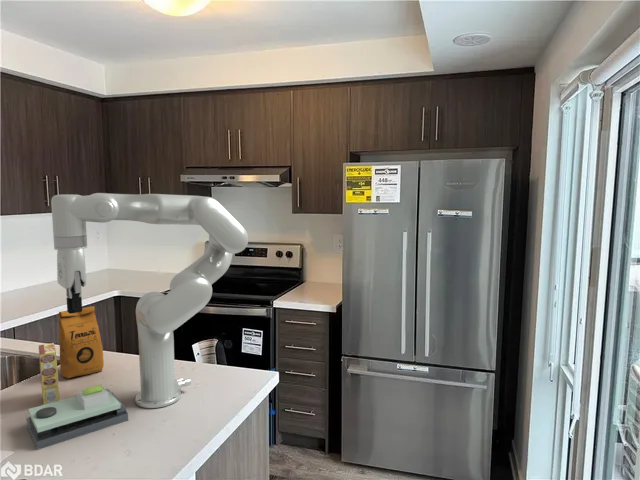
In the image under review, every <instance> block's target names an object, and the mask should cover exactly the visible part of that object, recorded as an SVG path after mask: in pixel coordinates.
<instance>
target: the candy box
mask: <svg viewBox="0 0 640 480" xmlns="http://www.w3.org/2000/svg"><path fill="white" fill-rule="evenodd" d="M38 360H39V372H40V382H41V383H40V384H41V393H42V403H43V405H46V404H49V403H53V402H57V401H61V399H60V389H59V388H60V387H59V386H60V385H59V375H58V374H59V373H58V372H59V371H58V360H57V353H56V347H55V344H54V342H53V343H46V344H41V345H38Z"/></svg>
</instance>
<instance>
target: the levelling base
mask: <svg viewBox="0 0 640 480" xmlns="http://www.w3.org/2000/svg"><path fill="white" fill-rule="evenodd" d="M110 392H111V391H110ZM111 393H112V394H113V395H114V396H115V397H116V398H117V400H118V401H119V402H120V403H121V404H122V406H121V408H120V409H116V410H113V411H109V412H106V413H103V414H99V415H96V416H93V417H89V418H86V419H82V420H79V421H76V422H72V423H69V424H66V425H62V426H59V427H55V428H52V429H49V430H45V431H42V432H39V433H38V432H37V430H36V428H35V426H34V424H33V422H32V420H31V418H30V416H28V417H27V418H25V422H26V423H25V424H26V427H27V430H28V433H29V434H30V435H29V436H30V437H31V439H32V441H33V443H34V446H35V448H36V450H41V449H44V448H47V447H49V446H52V445H56V444H59V443H62V442H65V441H68V440H71V439H72V440H73V439H75V438H78V437H80V436H84V435H88V434H90V433H94V432H96V431H99V430H102V429H105V428H109V427H111V426H114V425H117V424H122V423H125V422H127V421H129V413H128V411H127V410H128V409H127V407H126V406H125V405H124V403H123V402H122V401H121V400H120V399H119V398H118V397H117V396H116V395H115V394H114V392H111Z"/></svg>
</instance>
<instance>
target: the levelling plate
mask: <svg viewBox="0 0 640 480" xmlns="http://www.w3.org/2000/svg"><path fill="white" fill-rule="evenodd" d="M76 392H77V393H76V394H77V395H76V396H71V397H69V398H65V399H60V401H57V402H53V403H49V404H46V405H44V404H43V405H38V406H35V407H31V408H28V409H27V414H28V415H29V416H28V417H30V418H31V420H32V422H33V424H34V426H35V428H36V430H37V432H38V433H39V432H42V431H45V430H49V429H52V428H55V427H59V426H62V425H66V424H69V423H72V422H76V421H79V420H82V419H86V418H89V417H93V416H96V415H99V414H103V413H106V412H109V411H113V410H116V409H120V408H121V406H122V404H123V403H122V404H121V403H120V402H119V401H118V400H117V398H118V397H117V396H116V395H115V394H114V393H113V392H112V393H113V394H114V395H115V396H116V397H117V398H116V397H115V396H114V395H113V394H112V393H111V390H109V388H104V387H103V385H102V384H99V385H94V386H90V387H86V388H83V389H81V390H78V391H76Z"/></svg>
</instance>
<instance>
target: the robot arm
mask: <svg viewBox="0 0 640 480" xmlns="http://www.w3.org/2000/svg"><path fill="white" fill-rule="evenodd" d="M50 203H51V204H50V206H51V218H52V221H51V222H52V234H53V250H55V251H57V252H56V253H57V254H56V271H57V272H56V275H57V276H56V277H57V284H58V285H60V286H61V287H62V288H64V289H65V291H66V311H67V312H68V313H70V314H71V313H78V312H82V308H83V300H82V288H84V287H86V285H87V270H86V260H85V257H86V256H85V251H84V249H87V248H88V236H87V235H88V234H87V222H88V223H89V222H90V223H92V222H93V223H98V224H99V223H101V224H102V223H103V224H105V223H110V222H112V221H129V222H130V221H132V222H140V223H144V224H149V225H184V226H185V225H189V226H190V225H191V226H196V225H197V226H200V227H201V228H203V230H204V231H205V232H206V233H207V234H208V246H207V249H206V250H205V252H204V254H203V255H201V256H200V257H199V258H198V259H196V260H195V261H194V262H192V263H191V264H190V265H188V266H186V267H185V268H184V269H182V270H181V271H179V272H178V273H177V274H175V275H174V277H173V278H172V279H171V280H170V283H169V292H168V293H167V294H164V293H163V292H159V291H149V292H146V293H145V294H142V296H141V297H140V298H139V299H138V301H137V302H136V306H135V307H136V308H135V319H136V325H137V326H136V327H137V335H138V338H137V339H138V355H139V356H138V357H139V381H140V391H139V392H138V393H137V394H136V395H135V398H134V399H135V400H134V401H135V404H136V405H137V406H139V407H141V408H145V409H159V408H163V407H167V406H169V405H173V404H174V403H176V402H178V400H179V399H180V398H181V396H182V393H181V389H182V388H183V387H188V386H191V385H192V380H191V379H190V378H187V379H186V378H185V379H184V378H183V377H180V378H177V379H176V378H175V377H176V375H175V374H176V371H175V369H176V368H175V340H174V339H175V338H174V337H175V336H174V331H175V330H177V329H178V328H179V327H181V326H182V325H184V323H186V322H188V320H190V319H192V318H193V317H194V316H195V315H196V314H198V313H199V312H200V311H201V310H202V309H204V308H205V306H206V305H207V304H208V303H209V302H210V300H211V298H212V295H213V287H212V285H213V284H214V283H216V282H217V281H218V280H219V279H221V277H223V275H224V274H226V273H227V272H228V270H229V267H230V266H231V263H232V260H233V255H234V254H235V255H236V254H238V253H241V252H242V251H245V249H246V248H247V246H248V244H249V235H248V232H247V229H246V228H244V226H243V225H242V224H241V223H240V222H239V221H238V220H237V219H236V218H235V217H234V216H233V215H232V214H231V213H230V212H229V211H228V210H227V209H226V208H225V207H224V206H223V205H222V204H220V202H218V200H216V199H215V198H214V197H211V196H201V195H189V194H188V195H185V194H165V193H163V194H161V193H144V194H142V193H140V194H130V193H126V194H125V193H107V192H96V193H91V194H90V195H80V194H63V193H62V194H55V195H53V196H52V197H51V202H50Z"/></svg>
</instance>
